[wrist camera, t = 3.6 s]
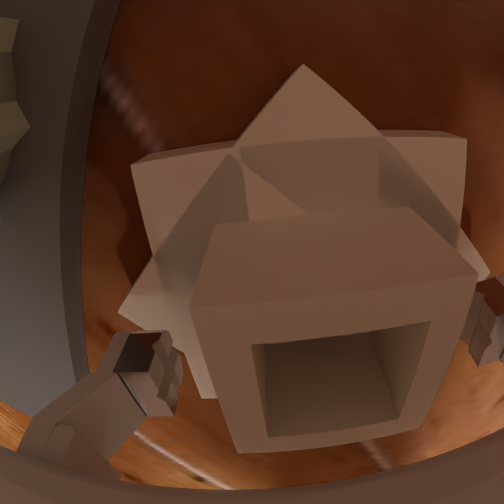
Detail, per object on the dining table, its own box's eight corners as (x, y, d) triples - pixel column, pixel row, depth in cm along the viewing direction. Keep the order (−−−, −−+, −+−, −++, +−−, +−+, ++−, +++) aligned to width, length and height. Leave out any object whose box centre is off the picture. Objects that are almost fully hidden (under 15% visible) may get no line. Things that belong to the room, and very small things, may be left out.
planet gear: (437, 367, 13) (474, 448, 9) (176, 396, 14) (157, 488, 9) (481, 80, 7) (596, 98, 3) (84, 110, 8) (-35, 139, 4)
